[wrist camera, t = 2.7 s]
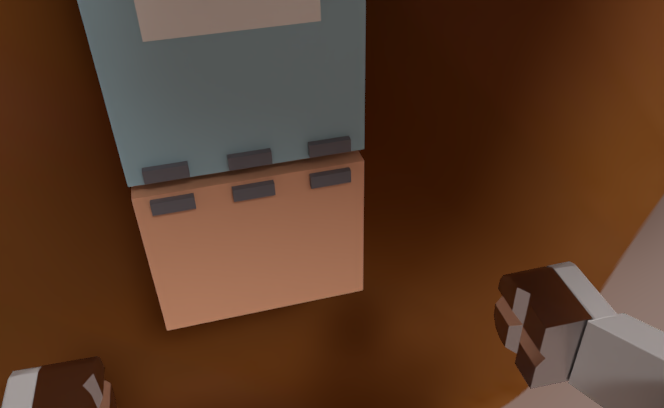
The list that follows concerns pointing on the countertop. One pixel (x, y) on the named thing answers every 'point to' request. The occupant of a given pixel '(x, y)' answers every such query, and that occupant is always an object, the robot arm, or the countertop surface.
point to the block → (254, 237)
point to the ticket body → (228, 82)
